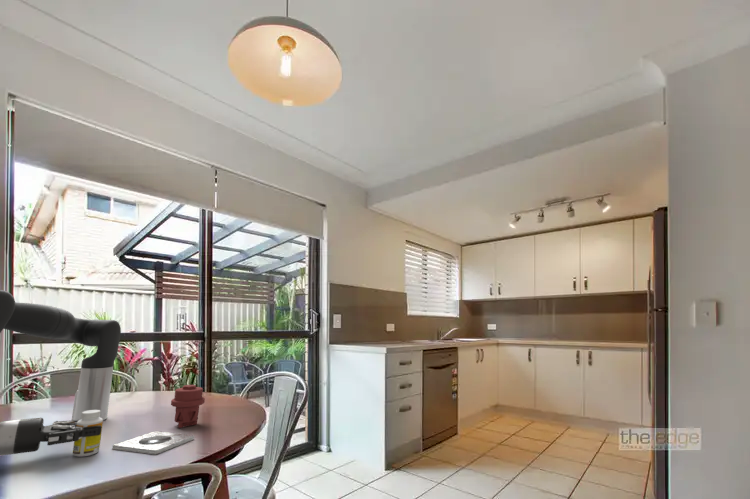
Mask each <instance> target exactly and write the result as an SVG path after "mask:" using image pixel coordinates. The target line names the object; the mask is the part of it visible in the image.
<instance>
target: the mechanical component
mask: <svg viewBox="0 0 750 499" xmlns="http://www.w3.org/2000/svg"><path fill="white" fill-rule="evenodd" d="M203 391H204V389H203V387H200V386H197V384H185V385H183V386H182V387H180V388H179V387H178V388H176V389H175V390H174V398H172V399H171V401H170V405H171V406H172V407H175V413H174V414H175V415H174V422H175V423H177V424H178V425H177V428H179V429H181V428H185V427H189V426H197V425H198V420H199V412H200V411H199V410H200V406H202V405H204V403H205V401H206V400H205V399H206V398H205V397H204V396H203V394H204V392H203Z"/></svg>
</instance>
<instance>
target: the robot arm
mask: <svg viewBox="0 0 750 499" xmlns="http://www.w3.org/2000/svg"><path fill="white" fill-rule="evenodd" d="M3 330H7V331H11V332H14V333H18V334H22V335H27V336H31V337H34V338H35V337H36V338H42V339H46V340H47V339H48V340H58V341H60V340H63V341H64V340H66V341H70V342H74V343H78V344H80V345H83V346H86V347H97V349H96V351H95V353H94V354H92V355H90V356H88V357H84V358H83V359H82V361H81V365H80V374H79V379H78V388H77V390H76V391H75V394H74V400H73V408H72V414H71V420H56V421H53V423H52V424H50V425H44V418H43V417H34V418H33V417H32V418H24V419H23V418H22V419H12V420H5V421H3V420H2V421H0V457H1V456H10V455H19V454H25V453H33V452H37V451H38V450H39V449H40V445H41V442H43V443H44V442H45V443H46V442H47V443H46V444H47V446H53V445H58V444H59V445H60V444H66V443H72V442H73V443H74V441H78V440H79V439H80V438H82V436H83V437H88V436H97V435H100V434H101V435H102V432H101V428H102V429H103V426H102V427H101V426H100V425H99V426H90V427H84V429H83V427H76V424H77V422H78V421H79V420H81V416H82V412H84V411H88V410H100V418H102V419H103V421H104V420H107V418H108V412H109V406H110V397H111V396H110V395H111V390H112V389H111V388H112V381H113V372H114V366H115V361H116V358H117V356H118V352H119V345H120V342H121V340H120V339H121V332H122V329H121V325H120V323H119V322H118V321H117V320H115V319H88V318H87V319H85V318H78V317H75V316H74V315H73V313H72V312H70V311H68V310H66V309H63V308H59V307H57V306H53V305H48V304H47V305H46V304H39V303H33V302H32V303H31V302H19V301H18V302H16V300H15V297H14V296H13V294H11V293H10V292H9V291H6V290H3V289H0V334H1V333H2V331H3Z"/></svg>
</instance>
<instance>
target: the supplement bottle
mask: <svg viewBox="0 0 750 499" xmlns="http://www.w3.org/2000/svg"><path fill="white" fill-rule="evenodd" d="M103 423H104V420H103V419H102V418H100V410H88V411H84V412H82V416H81V420H79V421H78V422H77V424H76V427H83V429H84V427H90V426H99V425H100V426H101V427H102V428H101V434H100V435H97V436H88V437H83V436H82V438H80V439H79V440H78V441H73V446H72V447H73V448H72V455H73V456H74V457H77V458H79V457H80V458H81V457H89V456H92V455H95V454H97V453H98V452H99V451H100V448H101V447H100V446H101V441H102V440H101V438H102V432H103V431H102V430H103Z"/></svg>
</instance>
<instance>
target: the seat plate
mask: <svg viewBox="0 0 750 499" xmlns="http://www.w3.org/2000/svg"><path fill="white" fill-rule="evenodd" d="M193 440H195V435H193V434H183V433H174V432H164V431H157V430H155V431H154V430H153V431H152V432H149V433H145V434H143V435H140V436H139V435H138V436H136V437H133V438H130V439H127V440H124V441H122V442H118V443H115V444H113V445H112V450H116V451H122V452H123V451H125V452H131V453H132V452H133V453H140V454H146V455H155V456H156V455H158V454H161V453H163V452H165V451H168V450H171V449H174V448H176V447H179V446H181V445H183V444H186V443H188V442H191V441H193Z"/></svg>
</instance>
